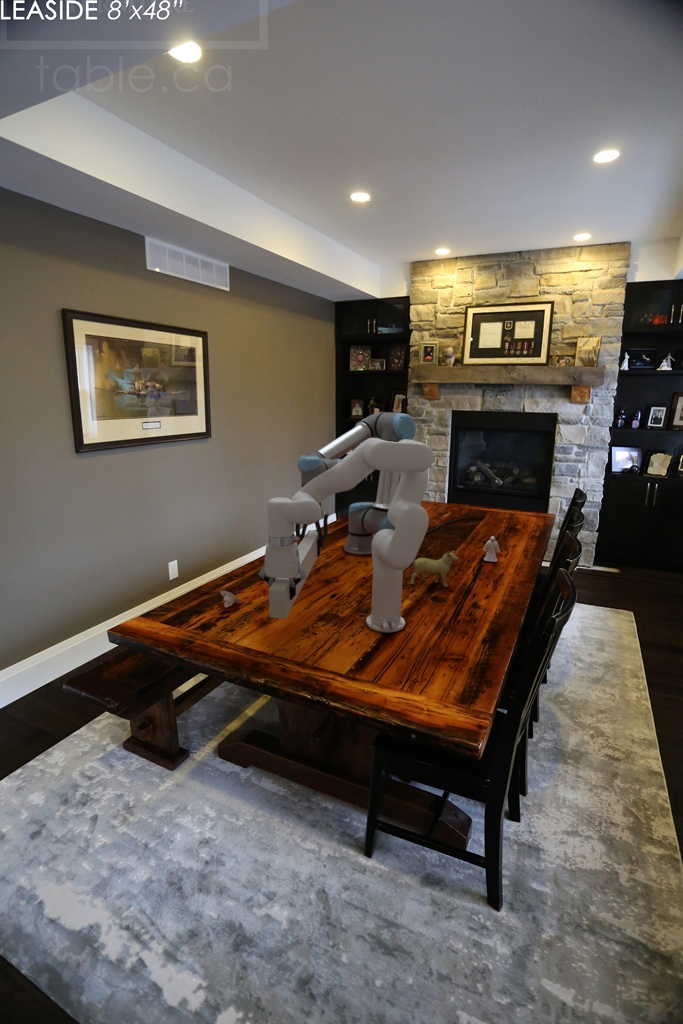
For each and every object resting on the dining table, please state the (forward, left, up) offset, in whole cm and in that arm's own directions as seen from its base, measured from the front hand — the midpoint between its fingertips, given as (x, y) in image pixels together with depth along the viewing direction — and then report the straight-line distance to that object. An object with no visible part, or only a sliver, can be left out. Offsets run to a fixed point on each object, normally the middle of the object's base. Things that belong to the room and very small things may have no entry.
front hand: (283, 596), depth 151 cm
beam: (+23, -5, -3) cm, 24 cm away
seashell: (+22, +19, -13) cm, 32 cm away
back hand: (+46, -10, -3) cm, 47 cm away
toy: (+38, -57, -13) cm, 70 cm away
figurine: (+66, -90, -13) cm, 113 cm away
